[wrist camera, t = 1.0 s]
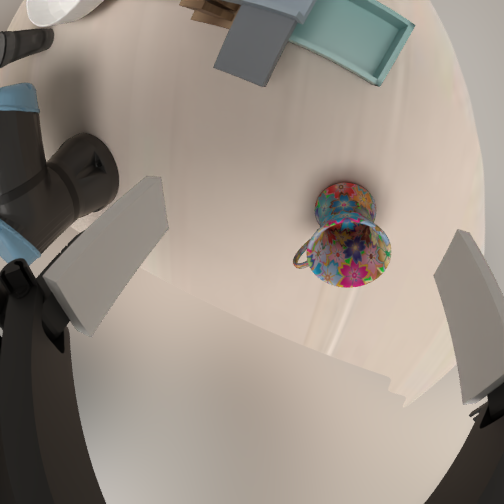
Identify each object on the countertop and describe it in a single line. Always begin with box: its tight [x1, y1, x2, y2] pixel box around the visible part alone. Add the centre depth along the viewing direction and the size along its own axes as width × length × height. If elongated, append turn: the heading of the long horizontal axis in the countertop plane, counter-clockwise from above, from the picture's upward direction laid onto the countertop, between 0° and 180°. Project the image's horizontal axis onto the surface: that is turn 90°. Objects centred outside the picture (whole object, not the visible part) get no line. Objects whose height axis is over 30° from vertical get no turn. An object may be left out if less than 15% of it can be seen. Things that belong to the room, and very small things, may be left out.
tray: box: [288, 0, 415, 87], centre depth 19 cm, size 12×9×4 cm
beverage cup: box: [0, 29, 54, 68], centre depth 17 cm, size 7×7×20 cm
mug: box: [293, 183, 391, 287], centre depth 32 cm, size 12×9×11 cm
